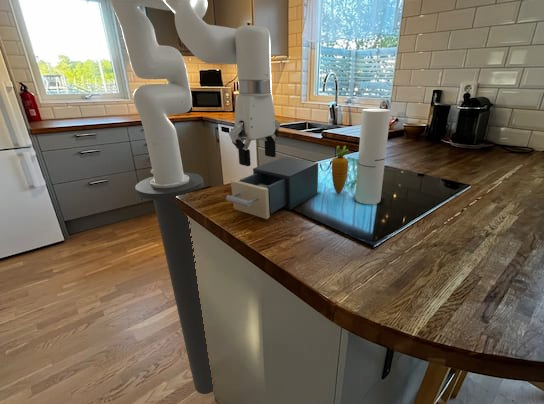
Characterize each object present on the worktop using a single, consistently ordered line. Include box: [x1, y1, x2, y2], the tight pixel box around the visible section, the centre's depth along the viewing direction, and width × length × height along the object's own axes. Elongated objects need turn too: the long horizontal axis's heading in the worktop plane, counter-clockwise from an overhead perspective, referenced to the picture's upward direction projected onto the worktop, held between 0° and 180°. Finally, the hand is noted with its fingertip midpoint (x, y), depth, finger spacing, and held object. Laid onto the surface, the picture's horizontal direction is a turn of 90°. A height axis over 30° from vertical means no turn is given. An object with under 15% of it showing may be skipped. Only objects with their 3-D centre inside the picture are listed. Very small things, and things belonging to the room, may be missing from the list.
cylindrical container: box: [354, 107, 392, 205], centre depth 81 cm, size 7×7×25 cm
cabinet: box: [252, 156, 319, 211], centre depth 87 cm, size 15×13×10 cm
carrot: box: [331, 145, 350, 195], centre depth 87 cm, size 5×5×15 cm
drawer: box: [225, 172, 288, 220], centre depth 78 cm, size 18×11×8 cm, turn 146°
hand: (258, 160), depth 75 cm, fingers open, 9 cm apart
